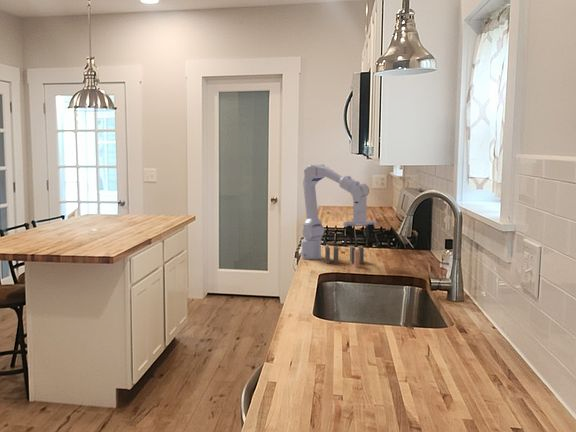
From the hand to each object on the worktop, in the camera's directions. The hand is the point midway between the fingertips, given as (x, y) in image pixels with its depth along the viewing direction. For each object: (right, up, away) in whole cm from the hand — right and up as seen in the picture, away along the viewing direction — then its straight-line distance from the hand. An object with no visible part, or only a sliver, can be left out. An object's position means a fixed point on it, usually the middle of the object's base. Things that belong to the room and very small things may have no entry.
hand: (359, 242), depth 219 cm
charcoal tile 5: (-14, -9, +6) cm, 18 cm away
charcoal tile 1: (+1, -9, +7) cm, 12 cm away
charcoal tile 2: (-2, -9, +7) cm, 12 cm away
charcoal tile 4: (-10, -9, +6) cm, 15 cm away
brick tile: (-2, -10, -2) cm, 11 cm away
